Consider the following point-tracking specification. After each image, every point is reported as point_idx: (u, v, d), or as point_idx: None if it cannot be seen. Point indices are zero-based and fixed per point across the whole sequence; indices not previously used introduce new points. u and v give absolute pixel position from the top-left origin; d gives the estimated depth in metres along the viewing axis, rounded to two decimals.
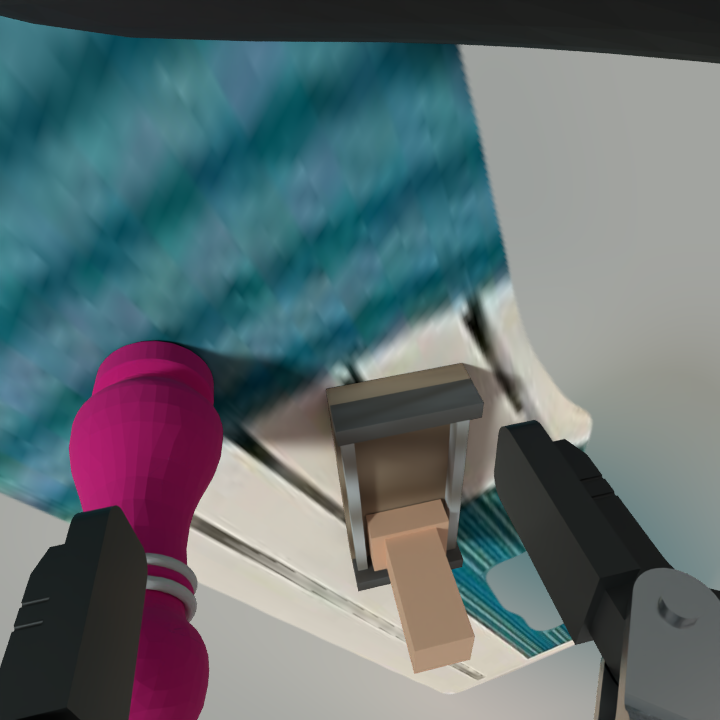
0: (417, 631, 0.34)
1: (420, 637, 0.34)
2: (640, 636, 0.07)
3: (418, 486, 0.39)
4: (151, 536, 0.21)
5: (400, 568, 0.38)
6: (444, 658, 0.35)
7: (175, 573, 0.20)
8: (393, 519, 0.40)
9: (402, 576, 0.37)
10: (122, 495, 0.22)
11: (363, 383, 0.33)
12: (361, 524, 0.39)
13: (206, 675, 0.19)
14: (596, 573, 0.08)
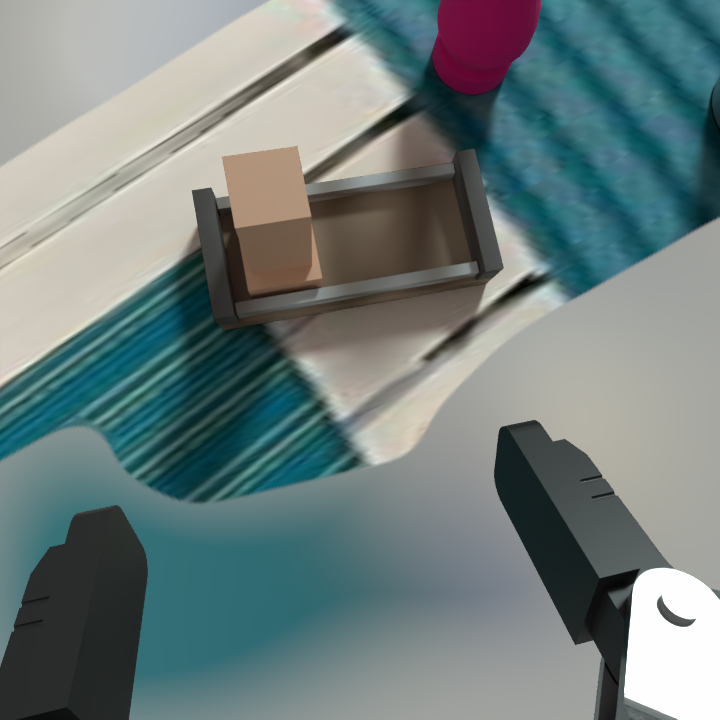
0: None
1: None
2: (640, 636, 0.07)
3: (346, 258, 0.38)
4: None
5: None
6: (258, 189, 0.28)
7: None
8: None
9: None
10: None
11: None
12: (314, 192, 0.37)
13: None
14: (596, 573, 0.08)
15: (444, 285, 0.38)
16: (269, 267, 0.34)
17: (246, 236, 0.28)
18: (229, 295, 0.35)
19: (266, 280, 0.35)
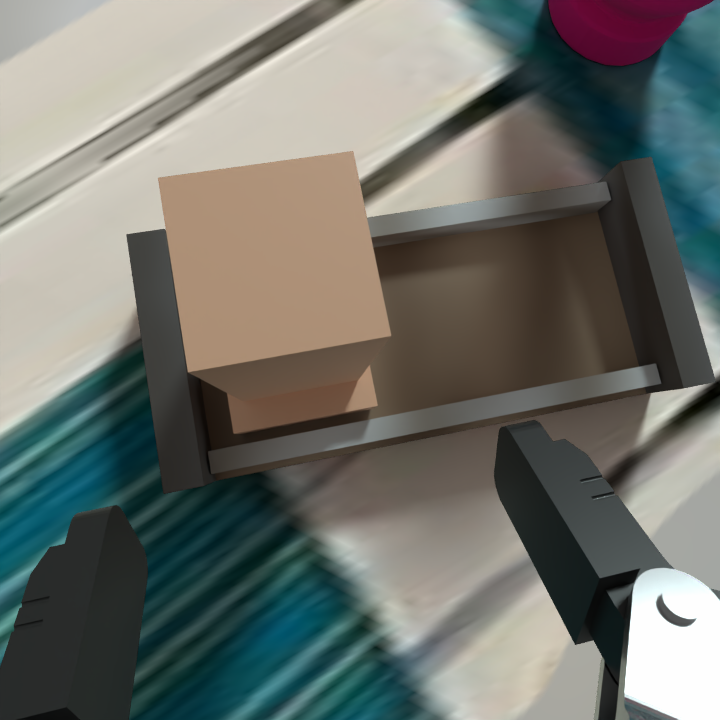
0: None
1: None
2: (640, 636, 0.07)
3: (415, 355, 0.21)
4: None
5: None
6: (251, 263, 0.10)
7: None
8: None
9: None
10: None
11: None
12: None
13: None
14: (596, 573, 0.08)
15: (591, 403, 0.21)
16: (276, 392, 0.17)
17: (222, 376, 0.11)
18: (196, 443, 0.18)
19: (269, 411, 0.18)
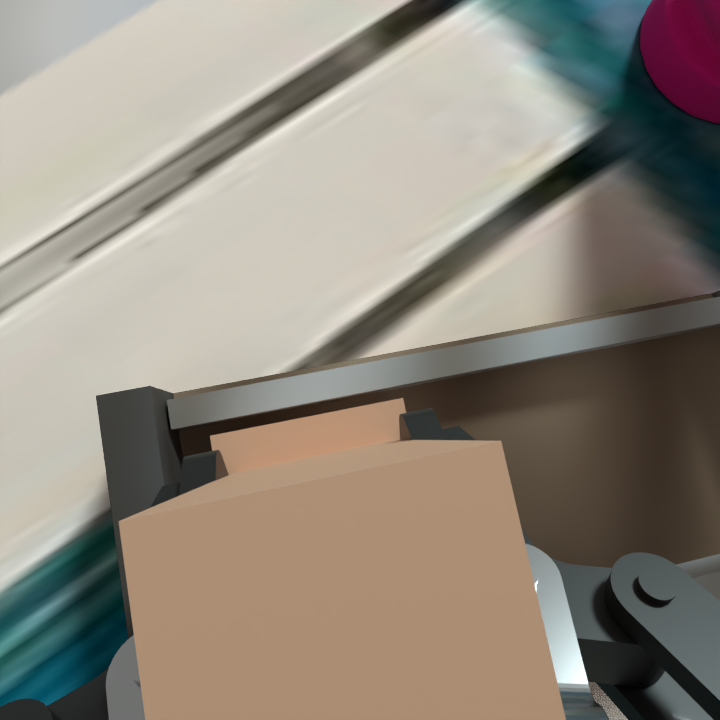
0: None
1: None
2: None
3: None
4: None
5: None
6: (310, 703, 0.05)
7: None
8: None
9: None
10: None
11: None
12: (416, 377, 0.15)
13: None
14: None
15: None
16: None
17: None
18: None
19: None
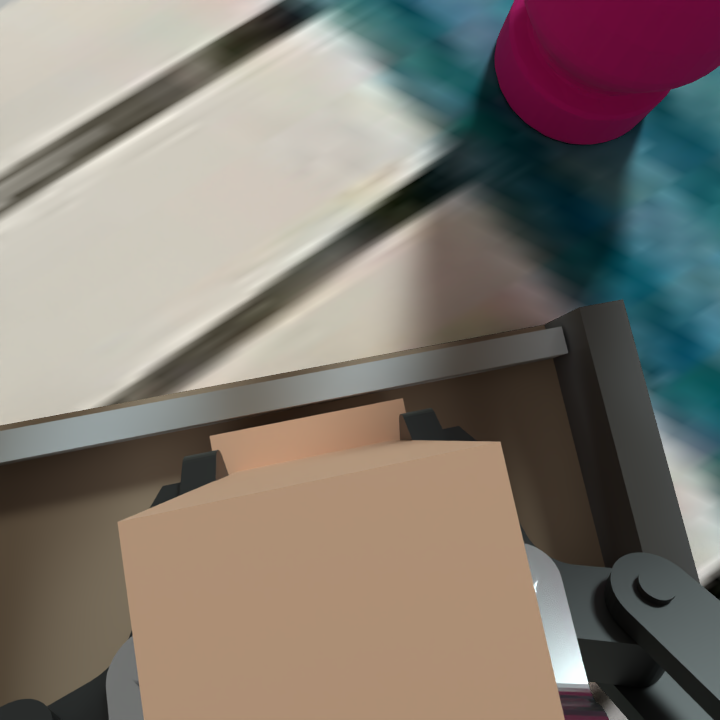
0: None
1: None
2: None
3: None
4: None
5: None
6: (309, 704, 0.05)
7: None
8: None
9: None
10: None
11: None
12: (205, 418, 0.14)
13: None
14: None
15: None
16: None
17: None
18: None
19: None
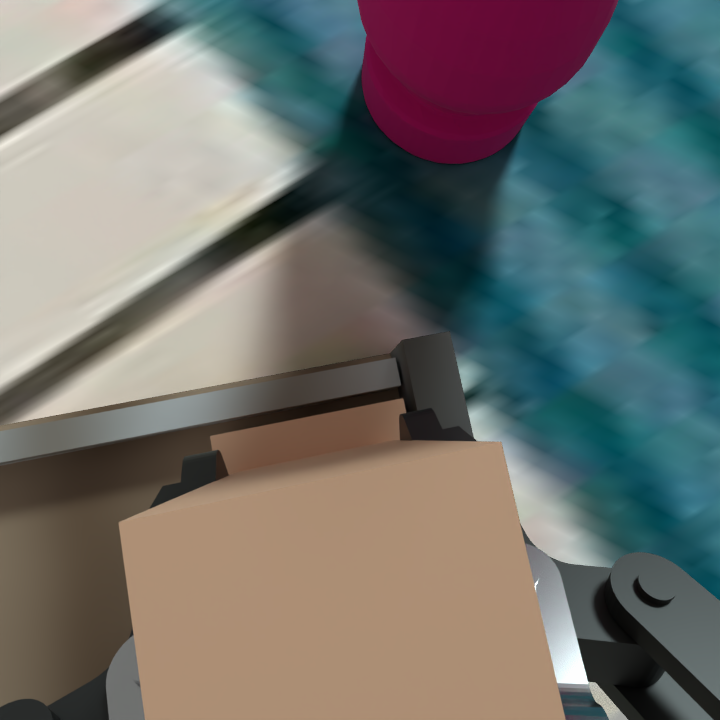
0: None
1: None
2: None
3: (109, 618, 0.14)
4: None
5: None
6: (310, 705, 0.05)
7: None
8: None
9: None
10: None
11: None
12: (9, 456, 0.14)
13: None
14: None
15: None
16: None
17: None
18: None
19: None
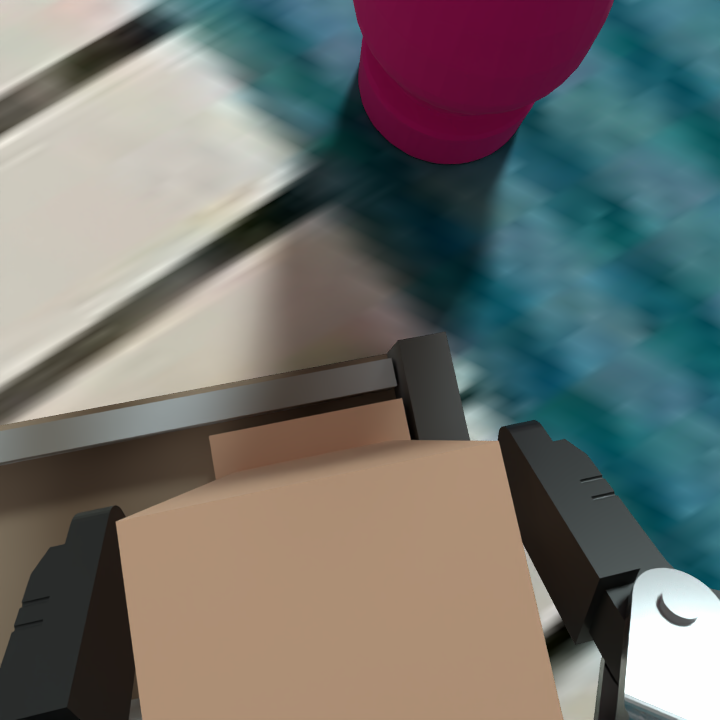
0: None
1: None
2: (640, 636, 0.07)
3: None
4: None
5: None
6: (307, 704, 0.05)
7: None
8: None
9: None
10: None
11: None
12: (4, 457, 0.14)
13: None
14: (596, 573, 0.08)
15: None
16: None
17: None
18: None
19: None
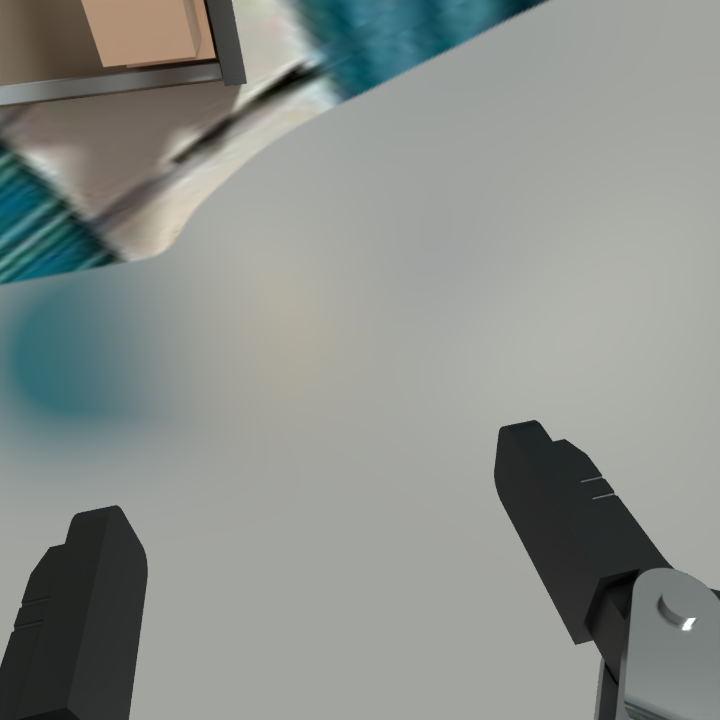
0: None
1: None
2: (640, 636, 0.07)
3: (52, 36, 0.30)
4: None
5: None
6: (124, 11, 0.22)
7: None
8: None
9: None
10: None
11: None
12: None
13: None
14: (596, 573, 0.08)
15: (186, 83, 0.33)
16: None
17: None
18: None
19: None
